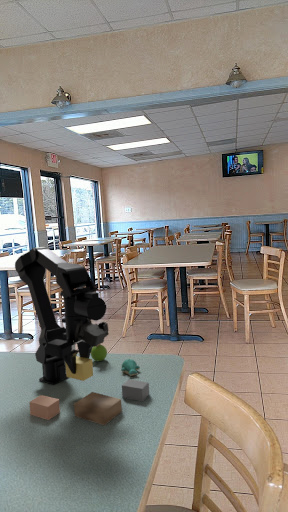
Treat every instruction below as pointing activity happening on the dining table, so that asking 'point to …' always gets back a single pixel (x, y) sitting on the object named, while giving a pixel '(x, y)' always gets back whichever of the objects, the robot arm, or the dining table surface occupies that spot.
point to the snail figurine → (99, 352)
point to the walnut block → (98, 408)
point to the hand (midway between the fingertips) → (79, 370)
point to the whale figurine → (130, 367)
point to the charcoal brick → (135, 390)
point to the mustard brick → (81, 369)
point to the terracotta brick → (44, 407)
